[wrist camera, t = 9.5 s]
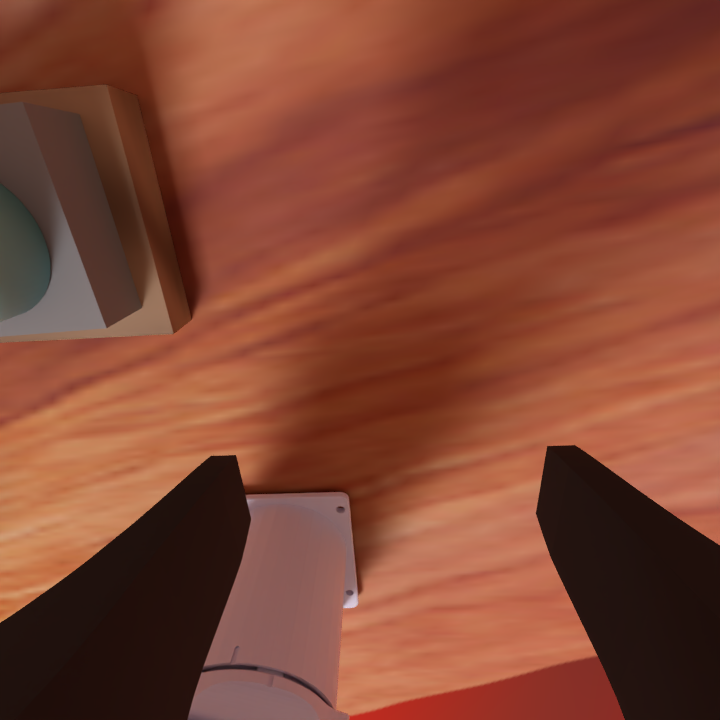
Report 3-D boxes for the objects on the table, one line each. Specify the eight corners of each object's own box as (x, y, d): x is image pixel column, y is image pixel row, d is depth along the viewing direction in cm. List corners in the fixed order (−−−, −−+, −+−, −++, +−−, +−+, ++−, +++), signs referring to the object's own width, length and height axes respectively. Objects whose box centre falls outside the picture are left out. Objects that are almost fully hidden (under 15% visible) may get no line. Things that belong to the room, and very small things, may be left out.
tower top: (142, 307, 17) (106, 328, 15) (-16, 320, 17) (-74, 342, 15) (79, 114, 14) (22, 101, 12) (-108, 135, 14) (-198, 127, 12)
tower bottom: (196, 315, 20) (173, 333, 17) (19, 324, 20) (-26, 343, 18) (144, 97, 16) (106, 84, 14) (-72, 115, 16) (-144, 104, 14)
